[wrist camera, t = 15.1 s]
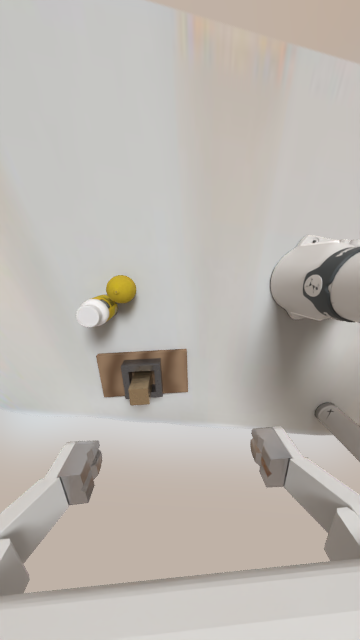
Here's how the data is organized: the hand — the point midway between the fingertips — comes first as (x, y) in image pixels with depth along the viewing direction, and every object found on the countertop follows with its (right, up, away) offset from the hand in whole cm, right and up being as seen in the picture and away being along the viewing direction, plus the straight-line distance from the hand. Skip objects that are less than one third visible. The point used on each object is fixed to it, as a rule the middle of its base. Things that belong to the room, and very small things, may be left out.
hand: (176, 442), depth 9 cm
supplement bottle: (-17, +10, +31) cm, 37 cm away
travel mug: (+44, -21, +43) cm, 65 cm away
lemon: (-12, +14, +30) cm, 35 cm away
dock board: (-9, -7, +36) cm, 38 cm away
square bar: (-9, -7, +35) cm, 37 cm away
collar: (-9, -7, +35) cm, 37 cm away
